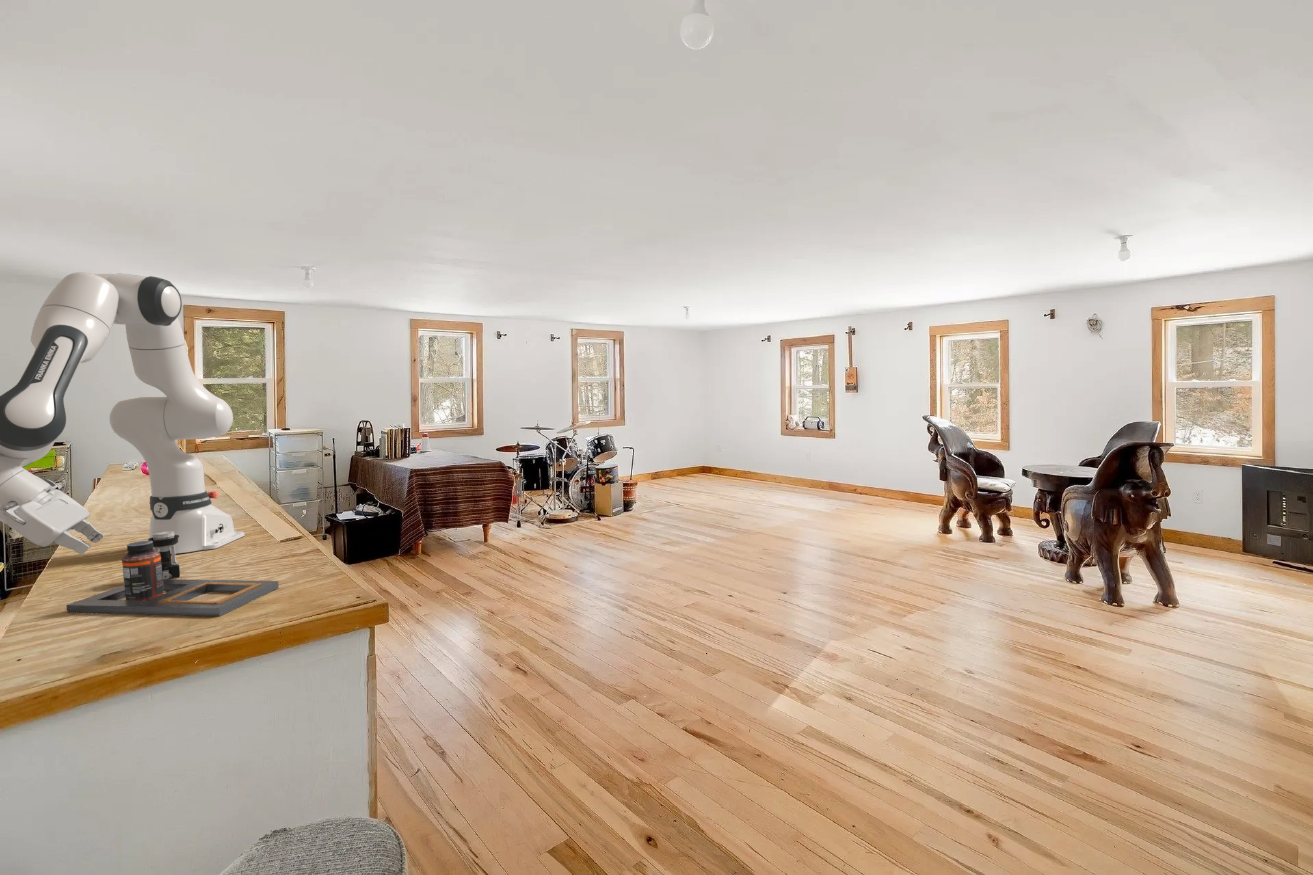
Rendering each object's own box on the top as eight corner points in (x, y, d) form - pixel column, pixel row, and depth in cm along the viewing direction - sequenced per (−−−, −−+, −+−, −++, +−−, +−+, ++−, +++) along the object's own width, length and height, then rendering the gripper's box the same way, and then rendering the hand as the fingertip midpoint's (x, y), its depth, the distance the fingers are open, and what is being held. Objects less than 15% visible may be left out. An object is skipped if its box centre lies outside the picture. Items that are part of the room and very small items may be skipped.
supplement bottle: (161, 592, 130) (157, 537, 129) (166, 599, 126) (162, 542, 125) (123, 599, 126) (119, 542, 125) (127, 606, 122) (122, 548, 121)
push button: (142, 584, 135) (138, 537, 135) (144, 578, 140) (140, 533, 139) (181, 578, 139) (178, 533, 138) (182, 572, 144) (179, 528, 143)
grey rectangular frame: (142, 585, 134) (142, 577, 134) (278, 588, 132) (278, 579, 132) (67, 612, 119) (66, 603, 118) (220, 616, 116) (219, 607, 116)
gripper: (12, 493, 108) (93, 543, 113) (52, 478, 126) (120, 522, 131) (-22, 522, 106) (61, 571, 112) (24, 503, 124) (94, 546, 129)
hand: (93, 544), depth 121 cm, fingers open, 8 cm apart
